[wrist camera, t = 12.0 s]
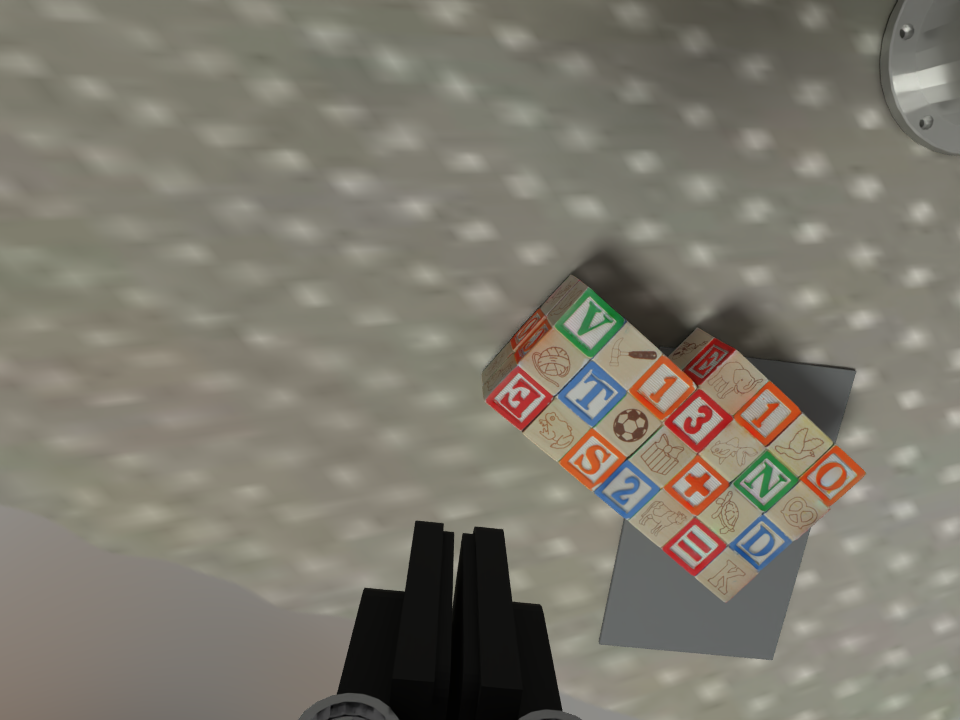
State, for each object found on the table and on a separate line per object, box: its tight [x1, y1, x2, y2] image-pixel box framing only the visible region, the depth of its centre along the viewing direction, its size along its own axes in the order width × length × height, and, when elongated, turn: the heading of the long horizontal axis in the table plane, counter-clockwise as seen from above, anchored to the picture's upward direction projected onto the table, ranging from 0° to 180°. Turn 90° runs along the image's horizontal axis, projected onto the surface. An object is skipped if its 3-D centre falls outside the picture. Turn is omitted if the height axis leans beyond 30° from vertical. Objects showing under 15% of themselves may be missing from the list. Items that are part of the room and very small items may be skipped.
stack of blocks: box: [482, 275, 866, 602], centre depth 40 cm, size 21×6×12 cm
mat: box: [599, 347, 856, 660], centre depth 46 cm, size 14×24×1 cm, turn 173°
